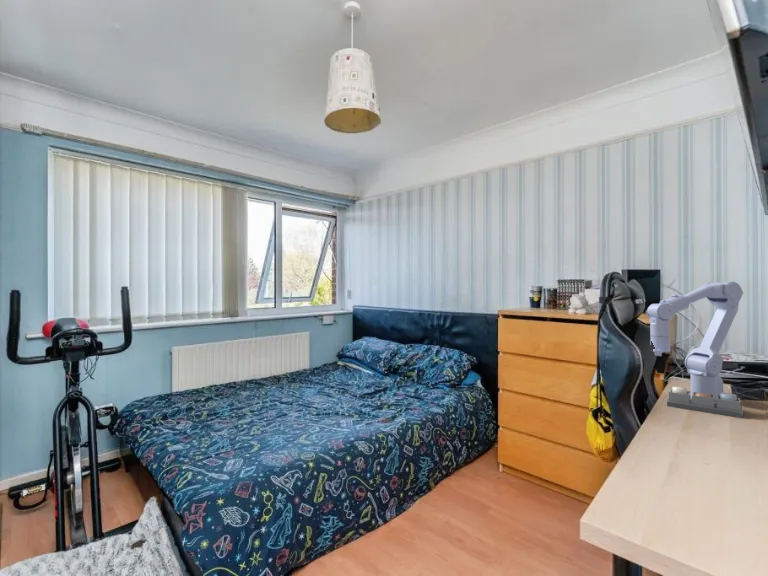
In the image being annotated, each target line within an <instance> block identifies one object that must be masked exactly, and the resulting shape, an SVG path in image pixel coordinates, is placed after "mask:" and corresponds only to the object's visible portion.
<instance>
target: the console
mask: <svg viewBox="0 0 768 576" xmlns="http://www.w3.org/2000/svg"><path fill="white" fill-rule="evenodd" d="M695 393H698V392H693V393H692V398H691V395H690V394H691V390H690V391H689V390H687V394H681V393H674V392H672V388H670V389H669V391H668V399H667V401H666V406H667V407H672V408H679V409H683V410H684V409H685V410H690V411H691V410H692V411H695V412H696V411H697V412H703V413H704V412H705V413H709V414H715V415H723V416H728V417H734V418H741V419H744V412H743V408H742V406H741V405H742V402H741V398H740V397H737V401H732V400H724V399H720V395H717V401H716V402H715V401H714V395H712V394H710V395H711V398H710V397H703V396H696V395H695Z"/></svg>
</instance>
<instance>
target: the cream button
mask: <svg viewBox="0 0 768 576" xmlns="http://www.w3.org/2000/svg"><path fill="white" fill-rule="evenodd" d="M671 389H672V392H674V393H681V394H687V391H688V388H686V387H683V386H672V387H671Z"/></svg>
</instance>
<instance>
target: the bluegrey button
mask: <svg viewBox="0 0 768 576" xmlns="http://www.w3.org/2000/svg"><path fill="white" fill-rule="evenodd" d="M737 398H738V395H737V394H735V393H728V392H723V393H720V399H724V400H732V401H737Z"/></svg>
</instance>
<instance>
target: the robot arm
mask: <svg viewBox="0 0 768 576" xmlns="http://www.w3.org/2000/svg"><path fill="white" fill-rule="evenodd" d="M743 295H744V291H743V289H742V287H741V285H740V284H739V283H738V282H735V281H729V282H728V281H727V282H713V281H712V282H711V281H710V282H707V283H705V284H701V286H699V287H698V288H695V289H694V290H692V291H690V292H688V293H686V294H684V295H682V294H671V295H670V297H669V298H667V299H662V300H660V301H659V303H651V304H650V305H649V306H648V307H647V309H646V310H645V314H646V316H647V317H648V322H649V327H650V332H649V333H650V342H651V341H652V343H653V345H654V347H655V349H653V351H652V352H653V353H654V354H655V356H658V357H657V363H658V364H657V367H656V368H655V371H656V373H657V374H663V375H664V374H665V371H666V368H667V367H666V366H667V363H668V360H669V358H670V356H671V353H670V352H671V340H670V339H671V336H670V333H671V332H670V331H671V330H670V325H671V323H670V320H671V319H673V317H674V315H675V314H677V313H680V312H682V311H684V310H686V309H688V308H689V307H690V304H692V303H695V302H698V301H700V300H703V299H705V298H706V299H707V300H708V301H709V303H710V304H711V305H713V306H714V307H715V309H716V311H715V313H714V315H713V317H712V319H711V321H710V324H709V326H708V327H707V330H706V332H705V335H704V336H703V339H702V341H701V343H700V345H699V346H698V347H695V348H694V349H692V350H691V352H690V353H689V354H688V355H687V356H686V357H685V359H684V366H685V369H687V370H688V372H689V374H690V395H691V399H692V393H693V392H698V393H706V394H712V395H714V402H717V395H720V393H724V380H723V379H722V377H721V376H719V374H721V373H722V371H723V362H724V357H723V355H722V354H721V353H720V350H721V349H722V346H723V343H724V342H725V339H726V337H727V335H728V332H729V331H730V328H731V326H732V324H733V321H734V320H735V317H736V315H737V313H738V310H739V305H740V302H741V298H742V297H743ZM668 352H669V353H668Z"/></svg>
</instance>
